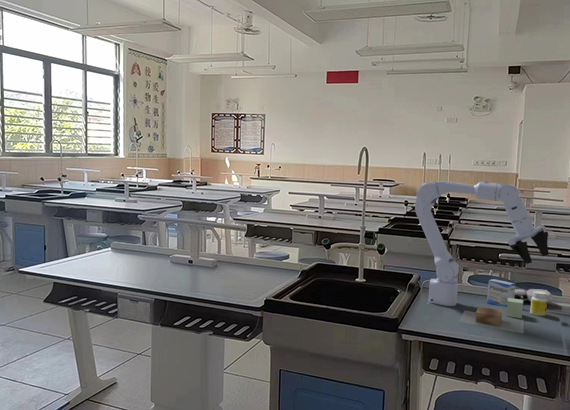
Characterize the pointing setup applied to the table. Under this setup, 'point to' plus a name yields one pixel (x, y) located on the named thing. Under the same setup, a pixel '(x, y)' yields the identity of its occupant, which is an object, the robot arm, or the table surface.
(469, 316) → the board
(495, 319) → the walnut brick
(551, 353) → the table surface
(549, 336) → the table surface
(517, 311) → the sage brick
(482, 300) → the table surface
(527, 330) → the table surface
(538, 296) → the supplement bottle
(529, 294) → the robot toy
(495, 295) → the medicine box
